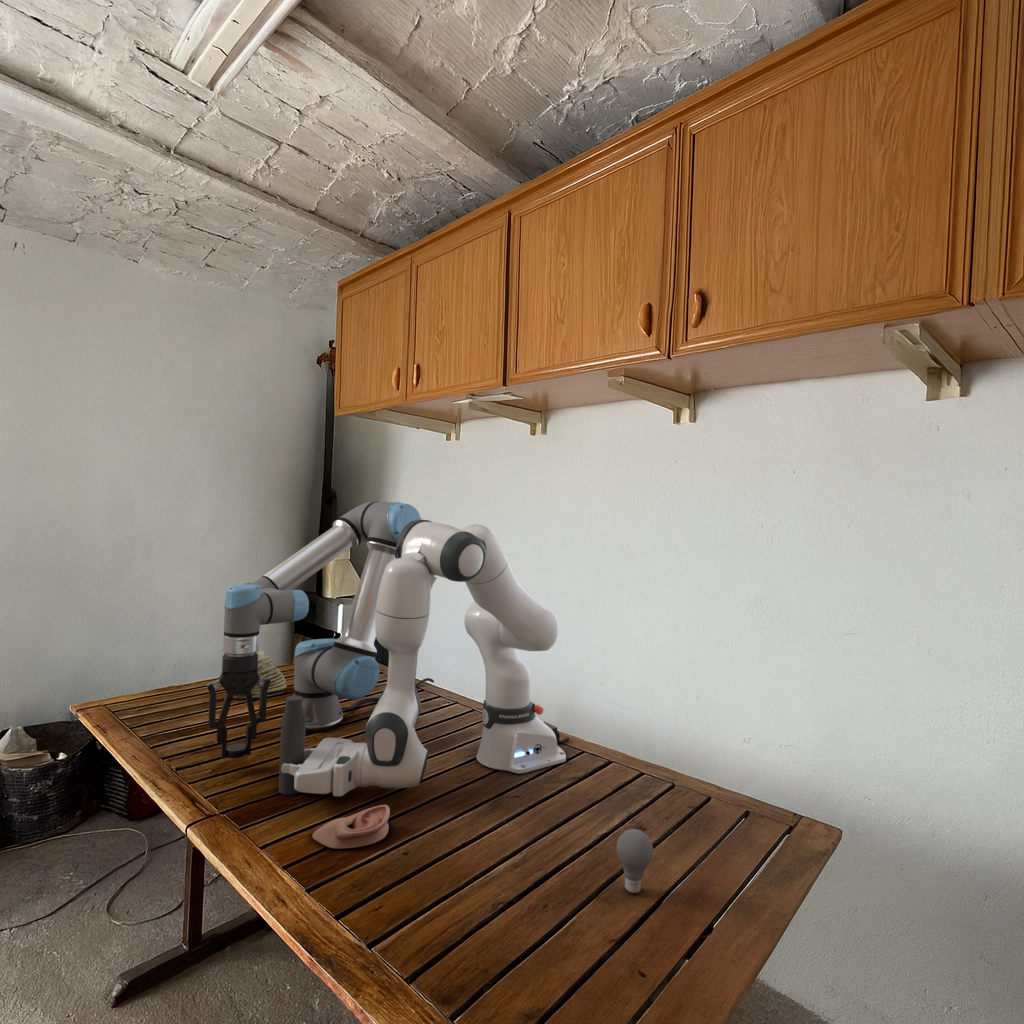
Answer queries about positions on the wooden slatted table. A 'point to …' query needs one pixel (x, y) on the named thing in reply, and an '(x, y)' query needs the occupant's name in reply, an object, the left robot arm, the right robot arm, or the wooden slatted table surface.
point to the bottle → (291, 741)
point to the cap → (236, 750)
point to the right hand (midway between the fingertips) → (287, 761)
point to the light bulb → (634, 857)
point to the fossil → (267, 670)
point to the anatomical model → (355, 829)
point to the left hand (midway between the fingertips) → (235, 754)
